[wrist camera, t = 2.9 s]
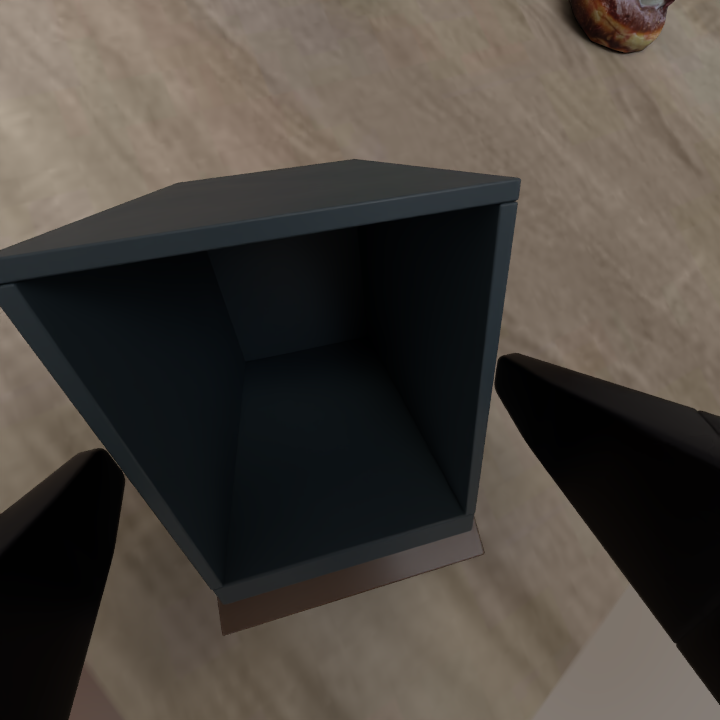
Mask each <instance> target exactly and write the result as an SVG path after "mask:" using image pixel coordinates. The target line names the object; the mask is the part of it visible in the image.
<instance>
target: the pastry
mask: <svg viewBox="0 0 720 720" xmlns="http://www.w3.org/2000/svg"><path fill="white" fill-rule="evenodd" d="M570 1H571V6H572V10H573V13H574V15H575V17H576V20H577V22H578V23H579V25H580V26H581V27H582V29H583V30H584V31H585V33H586V34H587V36H588V37H589V38H590V40H591V41H593V42H596V43H599V44H601V45H604V46H606V47H609V48H611V49H614V50H617V51H621V52H625V53H627V52H634V51H640V50H643V49H644V48H645V47H646V46H648V45H649V44H650V43H651V42H653V41H654V40H655V39H656V38H657V37H658V36H659V34H660V32H661V30H662V28H663V26H664V23H665V19H666V14H667V9H668V6H669V5H670V4H671V3H673V2H674V1H675V0H570Z"/></svg>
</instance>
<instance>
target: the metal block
mask: <svg viewBox="0 0 720 720" xmlns="http://www.w3.org/2000/svg"><path fill="white" fill-rule="evenodd" d="M480 555H484V549H483V545H482V542H481V539H480V535H479V532H478V528H477V525H476V521H475V518H474V519H473V527H472V530H471V531H468V532H465V533H462V534H458V535H455V536H452V537H448V538H445V539H442V540H438V541H435V542H432V543H428V544H425V545H422V546H418V547H415V548H412V549H408V550H405V551H402V552H399V553H395V554H392V555H389V556H385V557H382V558H379V559H375V560H372V561H369V562H365V563H362V564H359V565H355V566H352V567H349V568H345V569H342V570H339V571H335V572H332V573H329V574H325V575H322V576H319V577H316V578H312V579H309V580H306V581H302V582H299V583H296V584H292V585H289V586H286V587H282V588H279V589H276V590H272V591H269V592H266V593H262V594H259V595H256V596H252V597H249V598H246V599H243V600H239V601H236V602H233V603H229V604H226V605H224V604H222V602H221V601H220V600H219V598H218V597H217V599H218V607H219V614H220V621H221V628H222V635H223V636H225V635H228V634H231V633H235V632H238V631H241V630H244V629H247V628H251V627H254V626H257V625H260V624H263V623H266V622H270V621H273V620H276V619H279V618H282V617H286V616H289V615H292V614H295V613H298V612H302V611H305V610H308V609H311V608H314V607H318V606H321V605H324V604H327V603H330V602H334V601H337V600H340V599H343V598H346V597H349V596H353V595H356V594H359V593H362V592H365V591H369V590H372V589H375V588H378V587H381V586H385V585H388V584H391V583H394V582H397V581H401V580H404V579H407V578H410V577H413V576H417V575H420V574H423V573H426V572H429V571H432V570H436V569H439V568H442V567H445V566H448V565H452V564H455V563H458V562H461V561H464V560H468V559H471V558H474V557H477V556H480Z"/></svg>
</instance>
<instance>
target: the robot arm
mask: <svg viewBox="0 0 720 720" xmlns="http://www.w3.org/2000/svg"><path fill="white" fill-rule="evenodd" d="M494 385H495V390H496V392H497V394H498V396H499V398H500V399H501V401H502V403H503V404H504V406H505V408H506V409H507V411H508V413H509V415H510V416H511V418H512V420H513V421H514V423H515V425H516V427H517V428H518V430H519V432H520V433H521V435H522V437H523V438H524V440H525V441H526V443H527V444H528V446H529V447H530V449H531V450H532V451H533V453H534V454H535V455H536V457H537V458H538V459H539V461H540V462H541V464H542V465H543V466H544V468H545V469H546V470H547V472H548V473H549V474H550V476H551V477H552V478H553V480H554V481H555V482H556V484H557V485H558V487H559V488H560V489H561V491H562V492H563V493H564V495H565V496H566V497H567V499H568V500H569V501H570V503H571V504H572V505H573V507H574V508H575V509H576V511H577V512H578V514H579V515H580V516H581V518H582V519H583V520H584V522H585V523H586V524H587V526H588V527H589V528H590V530H591V531H592V532H593V534H594V535H595V537H596V538H597V539H598V541H599V542H600V543H601V545H602V546H603V547H604V549H605V550H606V551H607V553H608V554H609V555H610V557H611V558H612V560H613V561H614V562H615V564H616V565H617V566H618V568H619V569H620V570H621V572H622V573H623V574H624V576H625V577H626V578H627V580H628V581H629V582H630V584H631V585H632V587H633V588H634V589H635V590H636V592H637V593H638V594H639V596H640V597H641V599H642V600H643V601H644V603H645V604H646V605H647V607H648V608H649V609H650V611H651V612H652V614H653V615H654V616H655V618H656V619H657V620H658V622H659V623H660V624H661V626H662V627H663V628H664V630H665V631H666V633H667V634H668V635H669V636H670V638H671V639H672V641H673V642H674V643H676V646H677V648H678V649H679V650H680V652H681V653H682V655H683V656H684V657H685V658H686V660H687V661H688V663H689V664H690V665H691V667H692V668H693V669H694V671H695V672H696V674H697V675H698V676H699V678H700V679H701V680H702V682H703V683H704V684H705V686H706V687H707V688H708V690H709V691H710V692H711V694H712V695H713V697H714V698H715V699H716V701H717V702H718V703H719V705H720V416H716V415H713V414H710V413H707V412H704V411H697V410H696V409H694V408H691V407H688V406H684V405H681V404H678V403H675V402H672V401H669V400H665V399H662V398H659V397H656V396H653V395H649V394H646V393H643V392H640V391H637V390H633V389H630V388H627V387H624V386H621V385H618V384H614V383H611V382H608V381H605V380H602V379H598V378H595V377H592V376H589V375H586V374H583V373H579V372H576V371H573V370H570V369H567V368H563V367H560V366H557V365H554V364H551V363H547V362H544V361H541V360H538V359H535V358H532V357H528V356H525V355H522V354H519V353H512V354H507V355H503V356H501V357H500V358H499V359H498V362H497V368H496V375H495V382H494ZM124 487H125V477H124V474H123V472H122V470H121V469H120V468H119V466H118V465H117V464H116V462H115V461H114V460H113V459H112V457H111V456H110V455H109V453H108V452H107V451H106V450H104V449H102V448H97V449H93V450H88V451H84V452H81V453H78V454H77V455H75V456H74V457H73V458H71V459H70V460H69V461H68V462H66V463H65V464H64V465H63V466H61V467H60V468H59V469H57V470H56V471H55V472H54V473H52V474H51V475H50V476H49V477H47V478H46V479H45V480H43V481H42V482H41V483H40V484H38V485H37V486H36V487H35V488H33V489H32V490H31V491H30V492H28V493H27V494H26V495H24V496H23V497H22V498H21V499H19V500H18V501H17V502H16V503H14V504H13V505H12V506H10V507H9V508H8V509H7V510H5V511H4V512H3V513H2V514H0V720H68V719H69V716H70V712H71V708H72V705H73V701H74V697H75V694H76V690H77V687H78V683H79V679H80V676H81V672H82V668H83V665H84V661H85V657H86V654H87V650H88V646H89V643H90V639H91V635H92V632H93V628H94V624H95V621H96V617H97V614H98V610H99V606H100V603H101V599H102V595H103V592H104V588H105V584H106V581H107V577H108V573H109V570H110V566H111V562H112V558H113V554H114V549H115V543H116V537H117V531H118V525H119V519H120V512H121V506H122V500H123V494H124Z"/></svg>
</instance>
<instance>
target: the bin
mask: <svg viewBox="0 0 720 720" xmlns="http://www.w3.org/2000/svg"><path fill="white" fill-rule="evenodd" d="M520 184H521V179H520V178H515V177H506V176H498V175H489V174H480V173H472V172H463V171H454V170H445V169H437V168H428V167H419V166H411V165H402V164H393V163H384V162H376V161H367V160H358V159H352V160H344V161H337V162H330V163H322V164H315V165H307V166H300V167H292V168H285V169H277V170H270V171H262V172H255V173H247V174H240V175H233V176H225V177H218V178H210V179H203V180H195V181H188V182H180V183H176V184H173V185H171V186H168V187H165V188H163V189H160V190H157V191H155V192H152V193H150V194H147V195H144V196H142V197H139V198H136V199H134V200H131V201H128V202H126V203H123V204H121V205H118V206H115V207H113V208H110V209H107V210H105V211H102V212H99V213H97V214H94V215H92V216H89V217H86V218H84V219H81V220H78V221H76V222H73V223H70V224H68V225H65V226H63V227H60V228H57V229H55V230H52V231H49V232H47V233H44V234H41V235H39V236H36V237H34V238H31V239H28V240H26V241H23V242H20V243H18V244H15V245H12V246H10V247H7V248H5V249H2V250H0V307H1V308H2V309H3V311H4V312H5V313H6V315H7V316H8V317H9V319H10V320H11V321H12V323H13V324H14V325H15V327H16V328H17V330H18V331H19V332H20V334H21V335H22V336H23V338H24V339H25V340H26V342H27V343H28V344H29V346H30V347H31V348H32V350H33V351H34V352H35V354H36V355H37V356H38V358H39V359H40V360H41V362H42V363H43V364H44V366H45V367H46V368H47V370H48V371H49V372H50V374H51V375H52V377H53V378H54V379H55V381H56V382H57V383H58V385H59V386H60V387H61V389H62V390H63V391H64V393H65V394H66V395H67V397H68V398H69V399H70V401H71V402H72V403H73V405H74V406H75V407H76V409H77V410H78V411H79V413H80V414H81V415H82V417H83V418H84V419H85V421H86V422H87V424H88V425H89V426H90V428H91V429H92V430H93V432H94V433H95V434H96V436H97V437H98V438H99V440H100V441H101V442H102V444H103V445H104V446H105V448H106V449H107V450H108V452H109V453H110V454H111V456H112V457H113V458H114V460H115V461H116V462H117V464H118V465H119V466H120V468H121V469H122V471H123V472H124V473H125V475H126V476H127V477H128V479H129V480H130V481H131V483H132V484H133V485H134V487H135V488H136V489H137V491H138V492H139V493H140V495H141V496H142V497H143V499H144V500H145V501H146V503H147V504H148V505H149V507H150V508H151V509H152V511H153V512H154V514H155V515H156V516H157V518H158V519H159V520H160V522H161V523H162V524H163V526H164V527H165V528H166V530H167V531H168V532H169V534H170V535H171V536H172V538H173V539H174V540H175V542H176V543H177V544H178V546H179V547H180V548H181V550H182V551H183V552H184V554H185V555H186V556H187V558H188V559H189V561H190V562H191V563H192V565H193V566H194V567H195V569H196V570H197V571H198V573H199V574H200V575H201V577H202V578H203V579H204V581H205V582H206V583H207V585H208V586H209V587H210V589H211V590H213V591H214V593H215V594H216V596H217V597H218V598H219V600H220V601H221V602H222V604H224V605H226V604H229V603H233V602H236V601H239V600H243V599H246V598H249V597H252V596H256V595H259V594H262V593H266V592H269V591H272V590H276V589H279V588H282V587H286V586H289V585H292V584H296V583H299V582H302V581H306V580H309V579H312V578H316V577H319V576H322V575H325V574H329V573H332V572H335V571H339V570H342V569H345V568H349V567H352V566H355V565H359V564H362V563H365V562H369V561H372V560H375V559H379V558H382V557H385V556H389V555H392V554H395V553H399V552H402V551H405V550H408V549H412V548H415V547H418V546H422V545H425V544H428V543H432V542H435V541H438V540H442V539H445V538H448V537H452V536H455V535H458V534H462V533H465V532H468V531H471V530H472V527H473V519H474V513H475V509H476V502H477V495H478V488H479V480H480V473H481V466H482V459H483V451H484V444H485V437H486V430H487V422H488V415H489V408H490V401H491V393H492V386H493V379H494V372H495V365H496V357H497V350H498V343H499V336H500V328H501V321H502V314H503V307H504V299H505V292H506V285H507V278H508V270H509V263H510V256H511V249H512V241H513V234H514V227H515V220H516V213H517V205H518V203H517V202H515V201H516V200H518V198H519V191H520Z"/></svg>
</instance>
